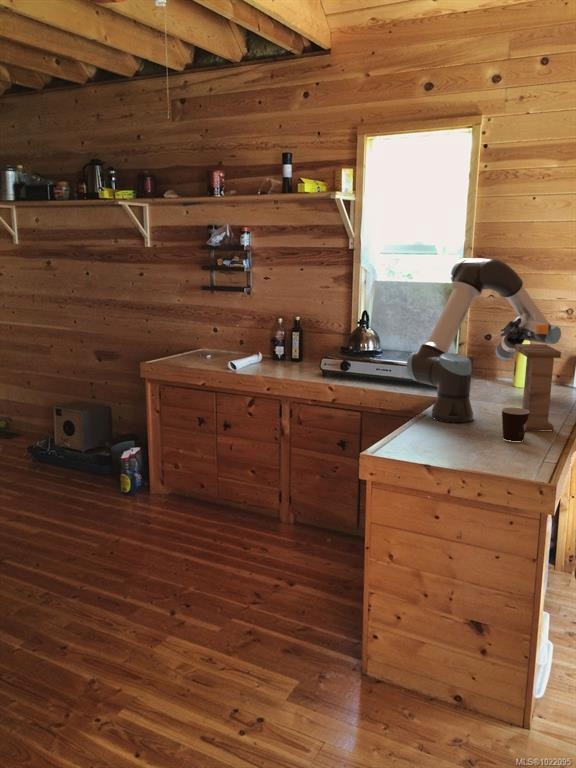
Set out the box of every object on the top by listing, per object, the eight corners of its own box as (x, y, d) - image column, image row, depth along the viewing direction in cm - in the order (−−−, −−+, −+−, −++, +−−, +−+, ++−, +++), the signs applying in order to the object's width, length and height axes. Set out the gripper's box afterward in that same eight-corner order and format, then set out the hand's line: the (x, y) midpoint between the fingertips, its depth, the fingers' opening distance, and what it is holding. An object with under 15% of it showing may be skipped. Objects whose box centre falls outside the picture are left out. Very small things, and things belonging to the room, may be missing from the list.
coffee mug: (513, 445, 213) (515, 415, 210) (494, 438, 220) (496, 409, 218) (539, 440, 218) (541, 411, 216) (519, 433, 225) (521, 405, 223)
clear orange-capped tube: (547, 334, 229) (548, 325, 228) (537, 334, 229) (538, 325, 228) (526, 325, 254) (527, 316, 253) (517, 325, 254) (518, 316, 254)
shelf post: (553, 431, 228) (561, 352, 221) (521, 430, 228) (527, 351, 222) (539, 418, 243) (546, 344, 237) (509, 418, 244) (515, 344, 238)
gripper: (533, 348, 265) (552, 326, 243) (493, 348, 266) (508, 325, 244) (532, 331, 268) (550, 307, 245) (492, 331, 269) (506, 307, 246)
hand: (529, 316), depth 245 cm, fingers closed on clear orange-capped tube, 3 cm apart
